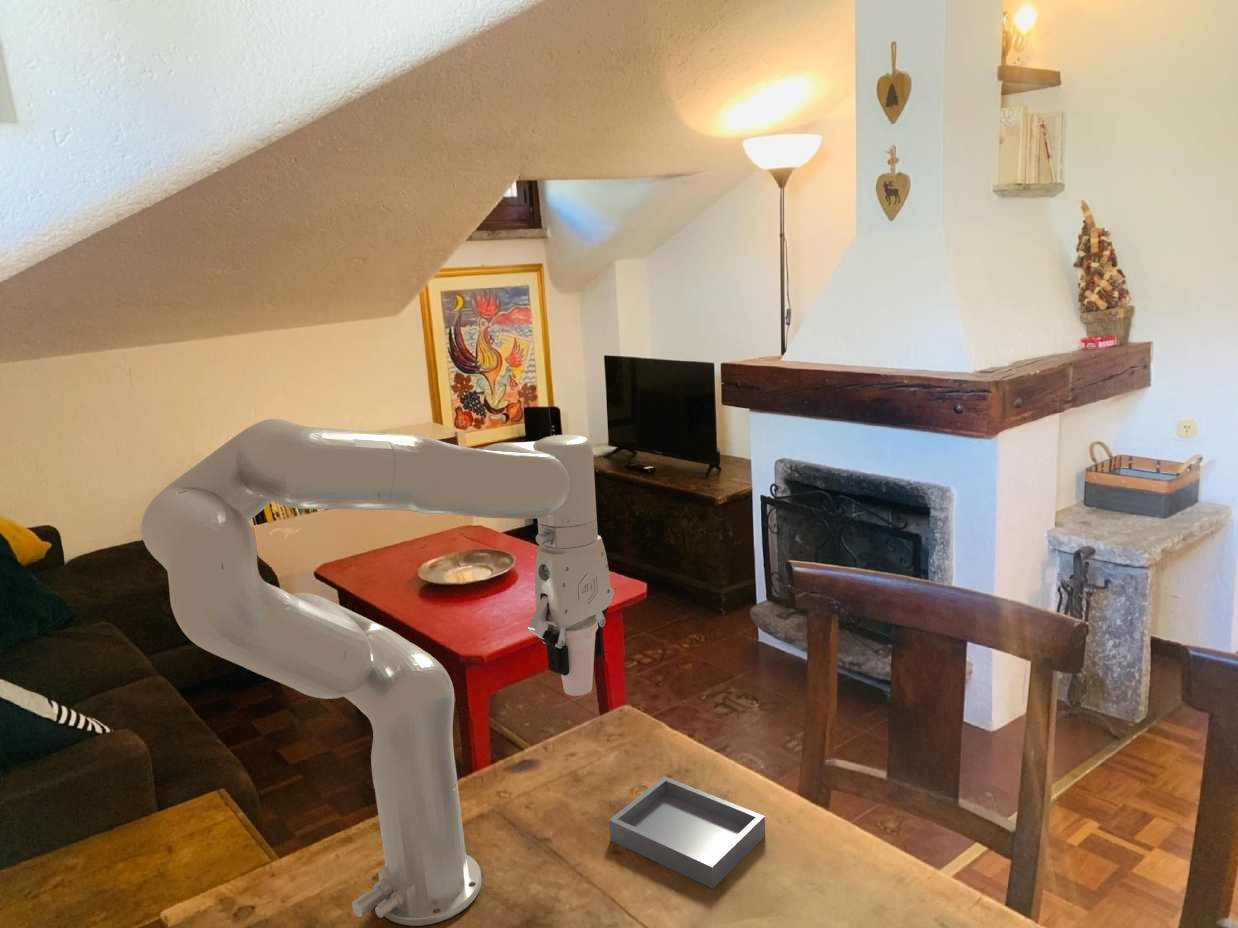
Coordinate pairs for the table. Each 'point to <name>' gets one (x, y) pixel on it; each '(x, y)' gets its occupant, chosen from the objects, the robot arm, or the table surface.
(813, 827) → the table surface
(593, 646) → the smoothie
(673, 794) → the grey tray
